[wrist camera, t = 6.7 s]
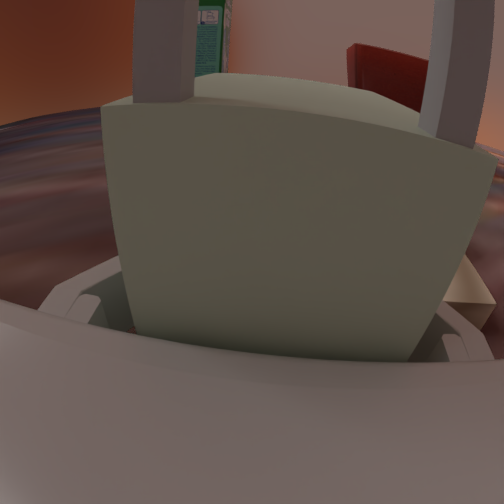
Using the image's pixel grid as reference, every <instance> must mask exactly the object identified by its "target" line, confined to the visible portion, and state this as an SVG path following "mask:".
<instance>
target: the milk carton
mask: <svg viewBox="0 0 504 504" xmlns="http://www.w3.org/2000/svg"><path fill="white" fill-rule="evenodd" d="M231 12H232V0H199V8H198V22H197V38H196V57H195V77H199V76H204V75H208V74H213V73H228V58H229V40H230V26H231Z"/></svg>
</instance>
